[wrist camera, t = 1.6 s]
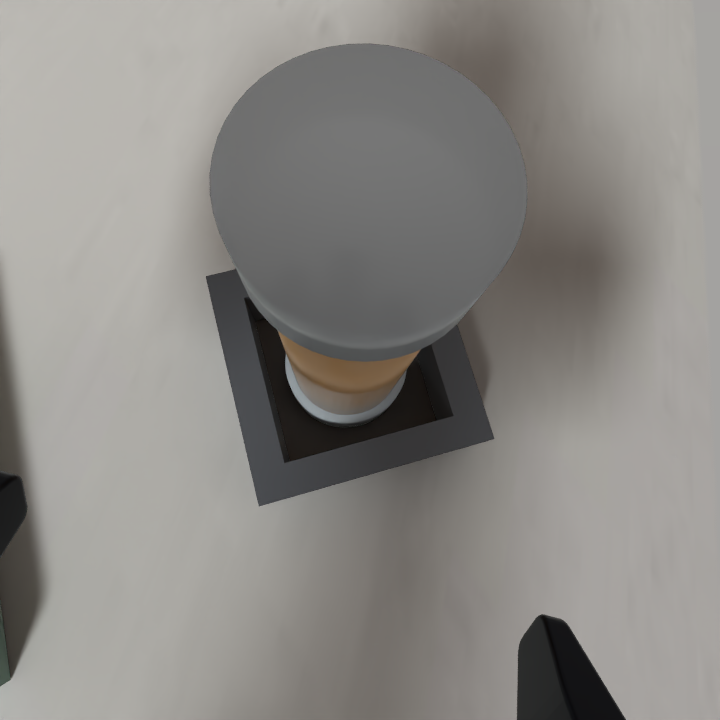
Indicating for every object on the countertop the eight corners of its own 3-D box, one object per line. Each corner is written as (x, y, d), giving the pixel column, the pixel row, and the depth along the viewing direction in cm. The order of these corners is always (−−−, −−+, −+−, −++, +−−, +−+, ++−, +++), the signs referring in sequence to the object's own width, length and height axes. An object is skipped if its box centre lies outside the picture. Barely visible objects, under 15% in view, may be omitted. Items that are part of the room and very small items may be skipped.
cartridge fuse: (414, 410, 22) (572, 286, 8) (304, 440, 22) (250, 368, 7) (382, 306, 23) (470, 19, 9) (277, 333, 23) (179, 75, 8)
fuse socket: (472, 443, 22) (494, 438, 19) (269, 502, 21) (259, 506, 18) (412, 255, 24) (424, 225, 21) (221, 301, 23) (206, 276, 20)
